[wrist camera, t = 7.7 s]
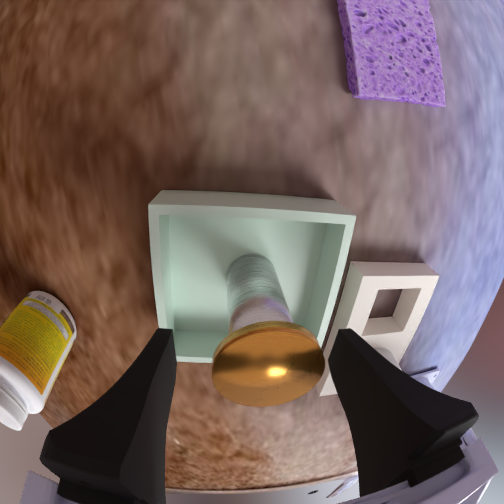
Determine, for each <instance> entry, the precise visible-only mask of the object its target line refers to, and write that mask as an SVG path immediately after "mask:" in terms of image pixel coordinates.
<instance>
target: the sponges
mask: <svg viewBox="0 0 504 504" xmlns="http://www.w3.org/2000/svg"><path fill="white" fill-rule="evenodd" d="M336 1H337V3H338V13H339V18H340V24H341V26H342V35H343V38H344V48H345V56H346V59H347V63H346V67H347V77H348V87H349V90H351V91H352V97H353V98H359V99H370V100H372V99H376V100H384V101H396V102H397V101H398V102H410V103H414V104H422V105H427V106H433V107H439V106H440V107H442V106H446V104H445V91H444V83H443V80H442V75H443V73H442V65H441V60H440V55H439V51H438V44H437V43H436V33H435V27H434V22H433V18H432V16H431V14H430V12H429V8H430V6H429V2H428V0H336Z"/></svg>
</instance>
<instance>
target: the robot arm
mask: <svg viewBox="0 0 504 504" xmlns="http://www.w3.org/2000/svg"><path fill="white" fill-rule="evenodd" d="M328 364H329V369H330V373H331V377H332V380H333V383H334V386H335V388H336V391H337V393H338V396H339V398H340V401H341V404H342V406H343V409H344V411H345V414H346V416H347V419H348V422H349V426H350V430H351V434H352V439H353V443H354V448H355V454H356V460H357V467H358V476H359V491H360V498H356V499H353V500H349V501H346V502H342V503H338V504H479V500H480V498H481V497H482V495H483V493H484V492H485V490H486V488H487V487H488V485H489V483H490V481H491V479H492V477H493V476H495V475H496V474H497V473H498V469H497V467H496V465H495V463H494V461H493V459H492V457H491V456H490V454H489V452H488V450H487V448H486V446H485V444H484V443H483V441H482V439H481V438H479V439H477V437H476V436H475V434H474V432H473V431H472V429H471V427H472V426H473V425H474V424H475V422H476V421H477V420H478V417H479V415H478V413H477V411H476V410H475V408H474V407H473V405H472V404H471V403H470V402H466V401H463V400H459V399H456V398H453V397H450V396H448V395H445V394H442V393H440V392H438V391H436V390H434V388H433V387H432V385H431V384H432V382H433V381H434V380H435V378H436V377H437V375H438V374H439V372H440V370H439V369H434V370H431V371H427V372H424V373H420V374H416V375H412V376H409V375H407V374H406V373H404V372H403V371H401V370H400V369H399V368H397V367H396V366H395V365H393V364H392V363H391V362H390V361H388V360H387V359H386V358H385V357H383V356H382V355H381V354H380V353H379V352H378V351H376V350H375V349H374V348H373V347H372V346H371V345H370V344H368V343H367V342H366V341H365V340H364V339H363V338H362V337H360V336H359V335H358V334H357V333H356V332H355V331H353V330H352V329H351V328H347V329H339V330H338V333H337V336H336V338H335V341H334V344H333V347H332V350H331V352H330V355H329V358H328ZM176 367H177V359H176V352H175V344H174V336H173V329H165V328H158V329H157V330H156V331H155V333H154V334H153V336H152V338H151V339H150V341H149V342H148V344H147V345H146V346H145V348H144V349H143V351H142V352H141V353H140V355H139V356H138V357H137V359H136V360H135V361H134V362H133V364H132V365H131V366H130V367H129V368H128V370H127V371H126V372H125V373H124V374H123V375H122V377H121V378H120V379H119V380H118V381H117V382H116V383H115V384H114V385H113V386H112V387H111V388H110V389H109V390H108V391H107V392H106V393H105V394H103V395H102V396H101V397H100V398H99V399H98V400H97V401H95V402H94V403H93V404H92V405H90V406H89V407H88V408H86V409H85V410H83V411H82V412H81V413H79V414H78V415H76V416H75V417H73V418H72V419H70V420H69V421H67V422H65V423H63V424H61V425H59V426H58V427H56V428H54V429H52V430H50V431H49V433H48V435H47V437H46V439H45V442H44V445H43V449H42V452H41V455H40V461H41V462H42V464H43V465H44V466H45V467H47V468H48V469H49V470H50V471H51V472H53V473H54V474H55V475H57V476H58V477H59V478H60V482H59V484H58V483H56V482H54V481H52V480H50V479H48V478H46V477H43V476H41V475H39V474H36V473H35V472H32V471H28V473H27V476H26V480H25V484H24V488H23V492H22V497H21V502H20V504H166V498H165V444H166V430H167V423H168V417H169V412H170V407H171V402H172V396H173V391H174V386H175V379H176Z"/></svg>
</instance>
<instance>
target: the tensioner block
mask: <svg viewBox="0 0 504 504" xmlns="http://www.w3.org/2000/svg"><path fill="white" fill-rule="evenodd" d="M439 276H440V275H438V274H437V273H436V272H435V271H434V270H433V269H431V268H430V267H429V266H428V265H427V264H426V263H398V262H359V261H351V262H350V266H349V270H348V274H347V277H346V281H345V285H344V288H343V292H342V295H341V299H340V302H339V306H338V309H337V312H336V316H335V319H334V322H333V325H332V328H331V332H330V335H329V338H328V341H327V344H326V347H325V350H324V352H323V355H324V358H325V370H324V373H323V375H322V377H321V379H320V380H319V382H318V383H317V384H316V388H317V391H318V394H319V396H325V395H332V394H338V393H337V391H336V388H335V386H334V383H333V380H332V377H331V373H330V369H329V364H328V358H329V355H330V352H331V350H332V347H333V344H334V341H335V338H336V336H337V333H338V330H339V329H347V328H351V329H352V330H353V331H355V332H356V333H357V334H358V335H359V336H360V337H362V338H363V339H364V340H365V341H366V342H367V343H368V344H370V345H371V346H372V347H373V348H374V349H375V350H376V351H378V352H379V353H380V354H381V355H382V356H383V357H385V358H386V359H387V360H388V361H390V362H391V363H392V364H393V365H395V366H396V367H397V368H399V369H400V370H401V371H402V369H401V368H400V366H399V362H400V360H401V358H402V357H403V355H404V353H405V351H406V349H407V347H408V345H409V343H410V341H411V339H412V338H413V336H414V334H415V331H416V329H417V327H418V325H419V323H420V321H421V319H422V317H423V314H424V312H425V310H426V308H427V305H428V303H429V301H430V298H431V296H432V294H433V291H434V289H435V286H436V284H437V281H438V278H439ZM380 289H403V290H402V292H401V295H400V298H399V300H398V303H397V305H396V308H395V310H394V313H393V315H392V316H391V317H380V318H368V317H369V315H370V312H371V309H372V306H373V304H374V301H375V298H376V295H377V292H378V290H380Z"/></svg>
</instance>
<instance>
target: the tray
mask: <svg viewBox="0 0 504 504" xmlns="http://www.w3.org/2000/svg"><path fill="white" fill-rule="evenodd" d="M148 214H149V235H150V250H151V263H152V274H153V284H154V293H155V301H156V309H157V317H158V324H159V328H165V329H173V336H174V344H175V352H176V359H177V361H180V362H199V363H212V358H213V354H214V351H215V349H216V347H217V346H218V345H219V343H220V342H221V341H222V340H223V339H224V338H225V337H227V336H228V335H229V334H228V309H227V278H226V275H227V270H228V268H229V266H230V265H231V263H232V262H233V261H234V260H236V259H237V258H239V257H241V256H243V255H247V254H258V255H261V256H264V257H266V258H267V259H268V260H270V261H271V263H272V264H273V266H274V268H275V271H276V273H277V276H278V279H279V282H280V285H281V288H282V291H283V294H284V297H285V300H286V303H287V305H288V308H289V311H290V314H291V317H292V320H293V323H295V324H298V325H300V326H303V327H304V328H306V329H308V330H309V331H310V332H312V333H313V335H314V336H315V337H316V339H317V340H318V343H319V345H320V348H321V347H322V344H323V341H324V338H325V335H326V332H327V328H328V325H329V322H330V319H331V315H332V312H333V308H334V305H335V301H336V298H337V294H338V291H339V287H340V283H341V280H342V276H343V272H344V268H345V264H346V260H347V256H348V251H349V247H350V243H351V238H352V234H353V229H354V224H355V220H356V215H354V214H353V213H352V212H350V211H349V210H348V209H346V208H345V207H344V206H342V205H341V204H340V203H338V202H337V201H335V200H329V199H319V198H309V197H297V196H285V195H272V194H257V193H240V192H219V191H189V190H161V191H160V192H159V193H158V194H157V196H156V197H155V198H154V199H153V200H152V201H151V202H150V203H149V204H148Z"/></svg>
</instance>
